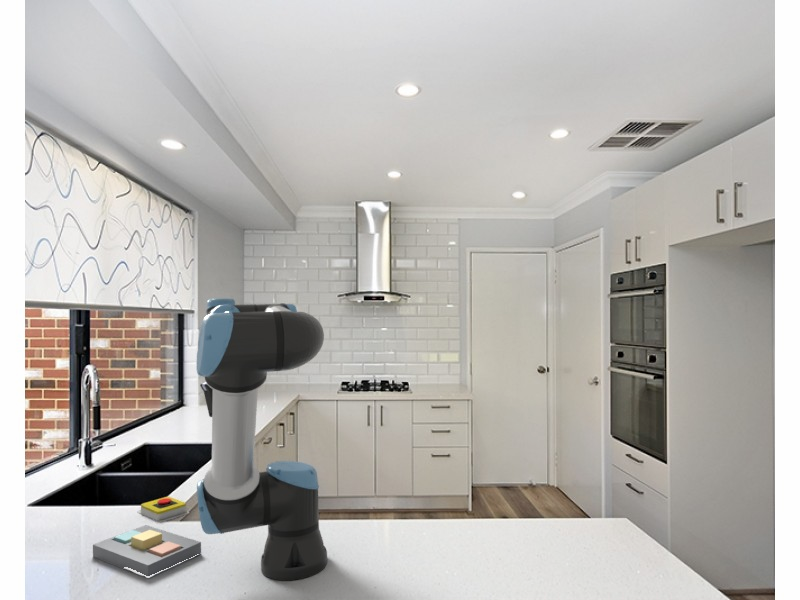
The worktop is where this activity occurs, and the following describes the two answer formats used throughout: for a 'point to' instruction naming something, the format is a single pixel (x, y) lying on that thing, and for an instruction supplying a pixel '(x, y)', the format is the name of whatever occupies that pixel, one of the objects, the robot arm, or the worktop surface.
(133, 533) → the teal button
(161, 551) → the terracotta button
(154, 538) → the yellow button
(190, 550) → the button panel
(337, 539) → the worktop surface
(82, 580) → the worktop surface
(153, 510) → the emergency button
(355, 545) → the worktop surface
